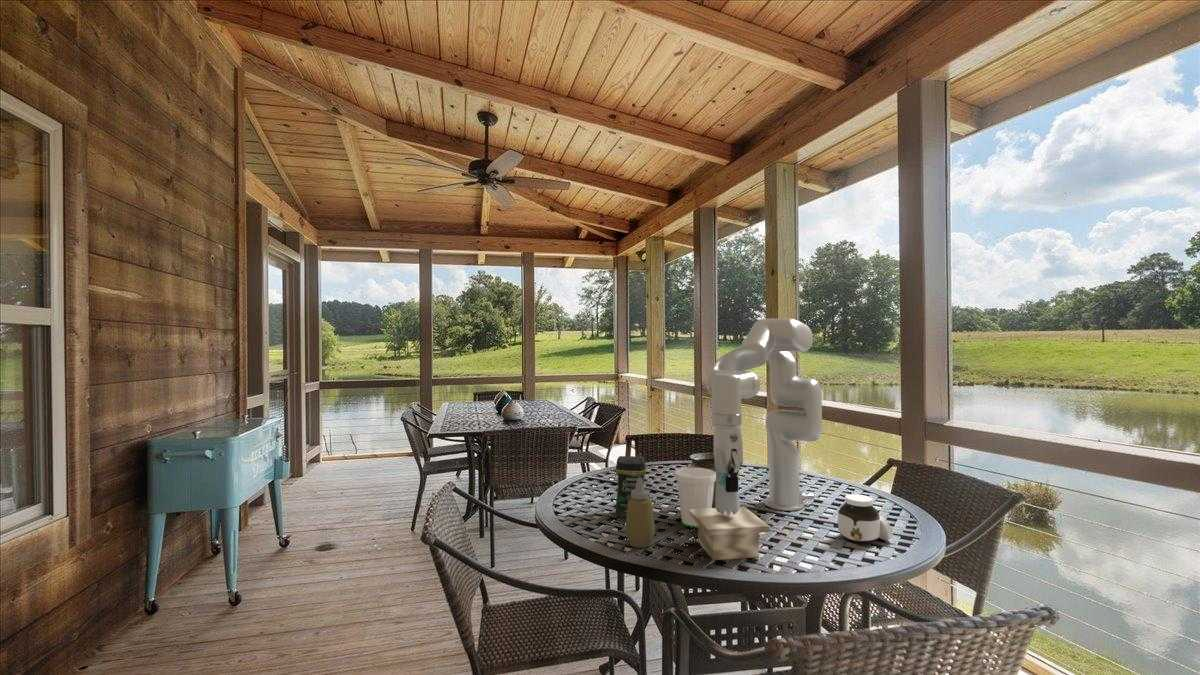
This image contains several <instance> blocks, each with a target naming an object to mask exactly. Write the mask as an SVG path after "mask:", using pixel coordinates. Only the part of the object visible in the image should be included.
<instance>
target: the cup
mask: <svg viewBox="0 0 1200 675" xmlns="http://www.w3.org/2000/svg"><path fill="white" fill-rule="evenodd" d="M674 478H675V480H676V483H677V492H678V500H679V508H680V516H681V523H682V525H684V526H685V525H686V527H688V526H690V527H689V528H693V527H695V528H694V529H696V528H698V524H697V523H696V522H695V521H694V520H693V519H692V517H691V516H690V515H689V509H705V508H713V500H714V499H713V498H714V488H715V483H716V470H715V471H714V470H712V469H710V468H704V467H683V468H679V469H677V470H675V471H674Z"/></svg>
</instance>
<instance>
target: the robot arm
mask: <svg viewBox="0 0 1200 675" xmlns="http://www.w3.org/2000/svg"><path fill="white" fill-rule="evenodd" d="M813 340H814V338H813V332H812V329H811V328H810V327H809V326H808V325H807V324H806V323H803V322H801V321H800V320H797V319H796V318H788V317H787V318H786V317H783V318H763V319H759V320H757V321H756V322H755V323H754V324H753V325H752V326H751V328H750V329H749V331H748V333H747V335H746V337H745V339H744V340H743V342H742V344H741V345H740V346H737V347H736V348H734V349H732V350H730V351H728V352H726V353H724V354H723V355H721V356H720V357H719V358H718V359H717V360H716V361H715V362H714V364H713V366H712V368H711V369H710V370H709V372H708V375H707V378H706V389H707V391H708V392H709V394H710V395H711V426H713V427H714V428H713V456H714V457H713V458H715V450H716V448H718V449H719V450H720V451H721V456H722V460H723V464H724V465H726V472H727V476H726V492H738V476H739V474H740V473H738V472H740V469H741V466H743V465H744V447H743V437H742V436H743V435H742V429H741V427H742V399H746V400H747V399H752V398H754V397H756V396H757V395H758V393H759V392H760V388H761V380H760V378H759V376H758V375H757V374H756V373H755V372H752V371H750V370H753V369H755V368H759V367H762V366H763V365H765V364H766V363H767V362H768V364H769V394H770V395H769V396H770V400H771V402H772V403H773V404H774V405H777V406H782V407H795V408H803V409H804V410H793V409H773V410H771V411H769V412H768V413H767V414H766V417H765V430H766V435H767V441H768V442H767V443H768V497H765V499H764V502H763V503H764V505H765V506H766V507H768V508H770V509H775V510H779V511H791V512H793V511H794V510H795V511H800V510H803V509H805V502H804V501H805V500H814V499H815V495H814V494H813V493H807V492H802V491H800V452H799V449H798V448H797V446H796V444H795V443H794V441H802V442H817V441H818V440H819V439H820V438H821V436H822V433H823V432H822V431H823V408H822V407H823V403H822V402H823V400H822V398H823V397H822V387H821V385H820V383H819V381H818V380H816V379H814V378H811V377H798V374H797V370H798V368H797V361H796V358H795V357H794V356H793V354H792V353H804V352H807V351H809V350H810V349H811V347H812V346H813V342H814V341H813ZM729 461H732V462H733V464H729ZM729 467H733V468H731V470H730V468H729ZM739 477H740V476H739Z"/></svg>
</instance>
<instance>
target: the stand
mask: <svg viewBox="0 0 1200 675" xmlns="http://www.w3.org/2000/svg"><path fill="white" fill-rule="evenodd" d="M689 515H690V516H691V517H692V519H693V520H694V521H695V522H696V523H697V524H698V529H697V530H698V534H697V536H698V538H697V539H698V542H697V543H700V544H699V545H700V546H701V547H702V548H703V550H704V551H705V552H706V553H707V555H708V556H709V557H710V558H711V560H712V561H718V560H719V561H721V560H722V561H723V560H734V559H735V560H736V559H737V560H739V559H752V558H759V557H760V555H759V554H760V552H759V551H760V550H759V548H760V546H759V545H760V542H759V538H760V537H759V533H760V534H762V533H770V525H769V524H767V523H766V522H765V521H764V520H762V519H761V518H760V517H758V516H757V515H756V514H755V513H753V512H752V511H751V510H750V509H748V508H747V507H746V506H740V507H739V511H738V512H737V513H736V514H733V513H732V511H731V514H730V515H727V512H726V511H724V514H721V513H720V512H718V511H717V510H716V507H712V508H705V509H689Z"/></svg>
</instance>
